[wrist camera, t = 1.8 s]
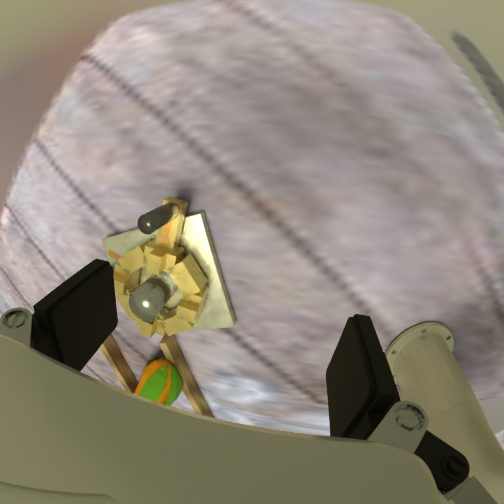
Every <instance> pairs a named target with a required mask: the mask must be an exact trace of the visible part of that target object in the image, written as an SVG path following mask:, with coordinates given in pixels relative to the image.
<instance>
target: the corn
mask: <svg viewBox="0 0 504 504" xmlns="http://www.w3.org/2000/svg"><path fill="white" fill-rule="evenodd" d="M178 373H179V371H178V369H177V368H176V366H175V365H174V364H173V363H170V362H169V361H168V360H167V359H166V358H157V359H154V360H151V361H150V362H149V363H148V364H147V365H146V367H145V368H144V371H143V373H142V376H141V378H140V381H139V383H138V386H137V388H136V391H135V393H134V394H135V395H138V396H141V397H144V398H147V399H150V400H153V401H156V402H159V403H162V404H165V405H168V406H170V405H171V404H172V403H173V402H174V401H175V400H176V399H177V398H178V396H179V394H180V392H181V391H182V382H181V381H182V380H181V378H180V376H181V375H180V376H179V375H178ZM179 374H180V373H179Z"/></svg>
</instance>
